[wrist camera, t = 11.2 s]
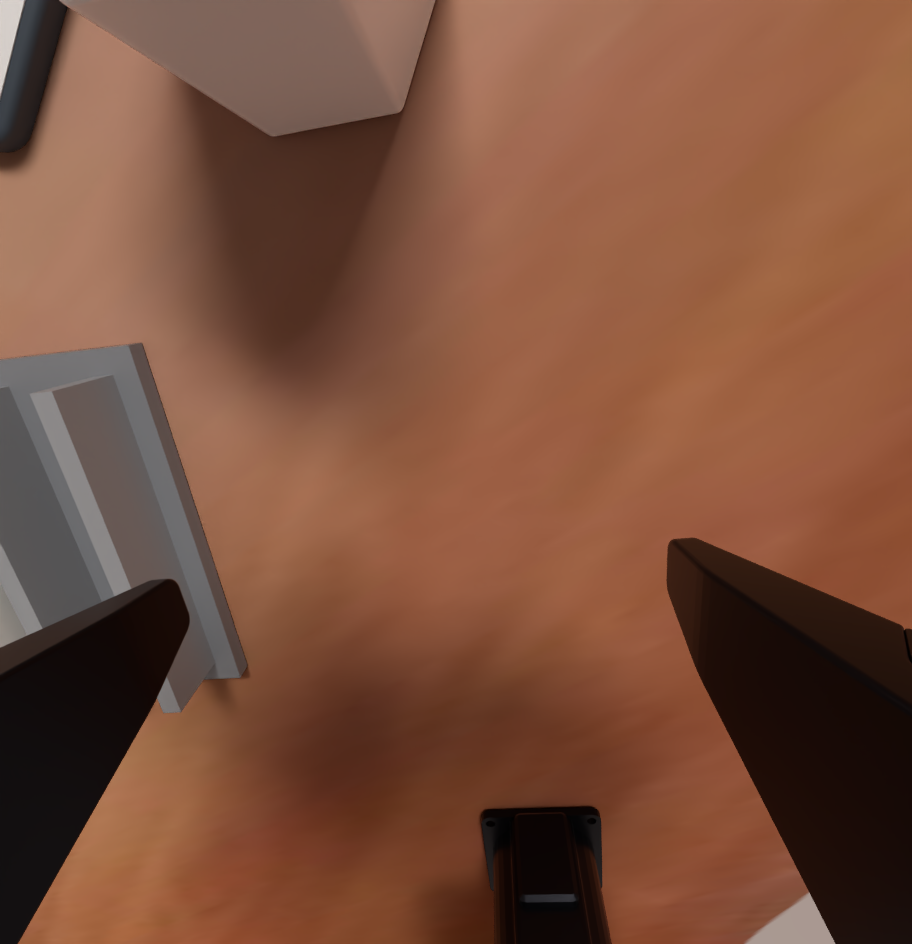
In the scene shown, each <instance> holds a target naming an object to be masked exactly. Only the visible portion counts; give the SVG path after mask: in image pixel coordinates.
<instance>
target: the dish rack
mask: <svg viewBox="0 0 912 944" xmlns="http://www.w3.org/2000/svg"><path fill="white" fill-rule="evenodd" d="M156 579H173V580H175V581H176V582H177V583H178V585H179V587H180V590H181V593H182V595H183V598H184V601H185V604H186V606H187V609H188V612H189V615H190V625H189V628H188V631H187V633H186V635H185V638H184V640H183V642H182V644H181V646H180V649H179V651H178V653H177V655H176V657H175V660H174V662H173V664H172V666H171V669H170V671H169V673H168V675H167V677H166V680H165V682H164V684H163V686H162V688H161V691H160V693H159V695H158V697H157V699H158V701H159V703H160V706H161V708H162V711H163V713H174V712H181V711H182V710H183V709H184V707H185V706H186V704H187V703H188V701H189V700H190V698H191V697H192V695H193V694H194V693H195V691H196V690H197V688H198V687H199V685H200V684H201V682H202V681H203V680H205V679H223V678H240V677H241V676H242V674H243V672H244V671H245V669H246V667H247V663H246V660H245V657H244V654H243V651H242V648H241V644H240V641H239V638H238V635H237V632H236V629H235V626H234V623H233V620H232V617H231V614H230V611H229V608H228V605H227V602H226V599H225V596H224V593H223V590H222V587H221V584H220V580H219V577H218V574H217V571H216V568H215V565H214V562H213V559H212V556H211V553H210V550H209V547H208V544H207V541H206V538H205V535H204V532H203V529H202V526H201V523H200V519H199V516H198V513H197V510H196V507H195V504H194V501H193V498H192V495H191V492H190V489H189V486H188V483H187V480H186V477H185V474H184V471H183V468H182V465H181V462H180V459H179V455H178V452H177V449H176V446H175V443H174V440H173V437H172V434H171V431H170V428H169V425H168V422H167V419H166V416H165V413H164V410H163V407H162V404H161V401H160V398H159V394H158V391H157V388H156V385H155V382H154V379H153V376H152V373H151V370H150V367H149V364H148V361H147V358H146V355H145V352H144V349H143V346H142V343H135V344H126V345H118V346H109V347H101V348H92V349H84V350H75V351H67V352H58V353H50V354H41V355H33V356H24V357H16V358H7V359H0V583H1V585H2V587H3V589H4V591H5V593H6V595H7V597H8V599H9V601H10V603H11V605H12V607H13V609H14V610H15V612H16V614H17V616H18V618H19V620H20V622H21V624H22V626H23V628H24V630H25V632H26V634H27V635H29V634H32V633H34V632H36V631H38V630H40V629H43V628H45V627H47V626H49V625H52V624H54V623H56V622H58V621H60V620H63V619H65V618H67V617H69V616H72V615H74V614H76V613H78V612H80V611H83V610H85V609H87V608H89V607H92V606H94V605H96V604H98V603H101V602H103V601H105V600H107V599H109V598H112V597H114V596H116V595H118V594H121V593H123V592H125V591H127V590H129V589H132V588H134V587H136V586H138V585H141V584H143V583H145V582H147V581H150V580H156Z"/></svg>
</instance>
